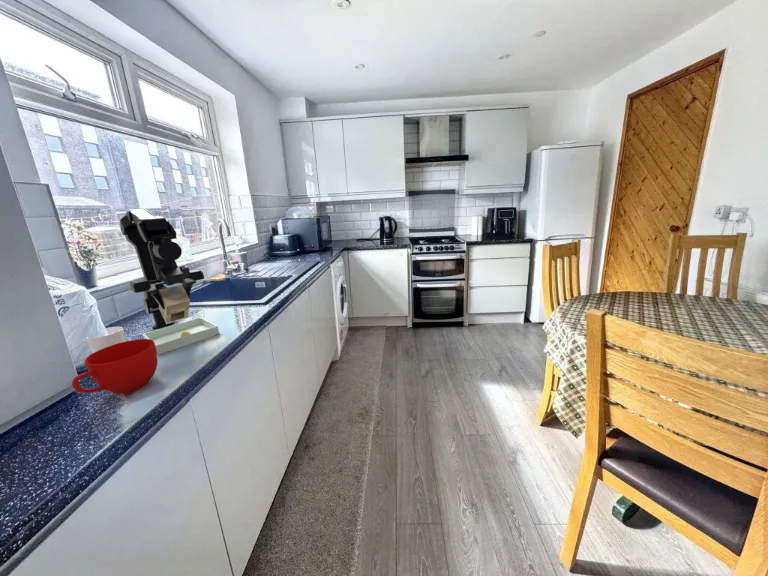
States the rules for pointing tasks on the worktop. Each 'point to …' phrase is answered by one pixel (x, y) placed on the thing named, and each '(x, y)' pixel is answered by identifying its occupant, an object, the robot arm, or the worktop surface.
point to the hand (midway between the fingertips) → (175, 305)
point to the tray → (171, 335)
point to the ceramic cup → (121, 367)
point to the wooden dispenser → (174, 303)
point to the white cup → (107, 339)
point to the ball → (185, 334)
